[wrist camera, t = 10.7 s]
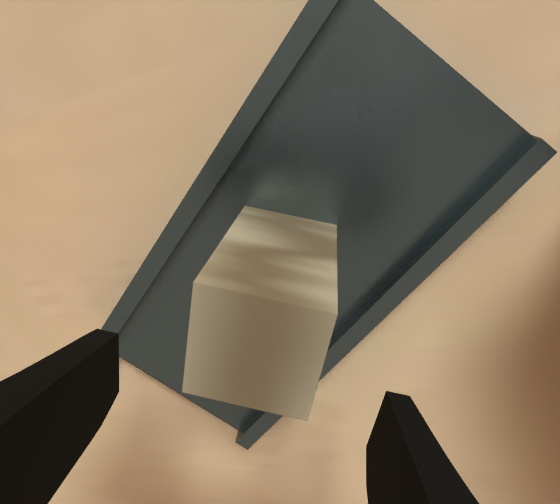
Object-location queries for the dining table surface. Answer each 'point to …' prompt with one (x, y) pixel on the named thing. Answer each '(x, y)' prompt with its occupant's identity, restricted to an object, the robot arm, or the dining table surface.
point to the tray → (335, 182)
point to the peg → (264, 314)
